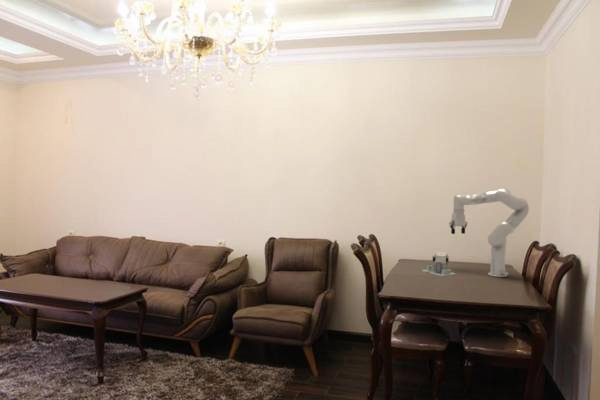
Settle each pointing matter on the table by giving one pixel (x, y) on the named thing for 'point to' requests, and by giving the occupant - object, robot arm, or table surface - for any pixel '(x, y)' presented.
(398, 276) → the table surface
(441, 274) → the seat
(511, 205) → the robot arm
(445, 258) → the pneumatic valve
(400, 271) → the table surface
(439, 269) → the hub
